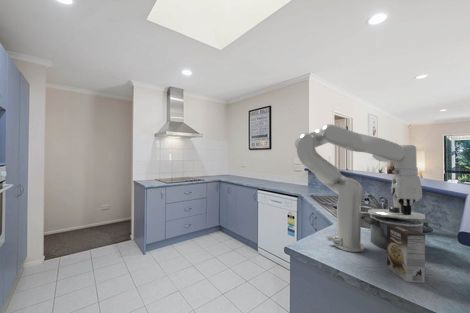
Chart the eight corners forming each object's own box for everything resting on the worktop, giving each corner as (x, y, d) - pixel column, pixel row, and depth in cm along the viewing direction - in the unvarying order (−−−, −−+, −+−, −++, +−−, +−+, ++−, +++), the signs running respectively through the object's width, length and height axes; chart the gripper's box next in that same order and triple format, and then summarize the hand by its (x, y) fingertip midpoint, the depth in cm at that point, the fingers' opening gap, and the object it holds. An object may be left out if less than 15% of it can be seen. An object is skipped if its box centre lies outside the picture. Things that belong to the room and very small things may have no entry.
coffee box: (385, 267, 74) (385, 224, 74) (403, 267, 74) (403, 224, 74) (406, 282, 65) (405, 233, 65) (426, 283, 65) (426, 233, 65)
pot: (381, 254, 85) (381, 224, 85) (355, 236, 104) (355, 211, 104) (444, 256, 83) (443, 225, 84) (406, 237, 103) (406, 213, 103)
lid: (439, 220, 83) (438, 211, 84) (387, 218, 84) (387, 210, 85) (399, 212, 105) (398, 205, 105) (358, 211, 106) (358, 204, 106)
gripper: (394, 173, 85) (395, 216, 85) (430, 173, 84) (431, 216, 84) (382, 172, 92) (382, 211, 92) (415, 172, 92) (416, 212, 91)
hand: (406, 214), depth 88 cm, fingers closed
